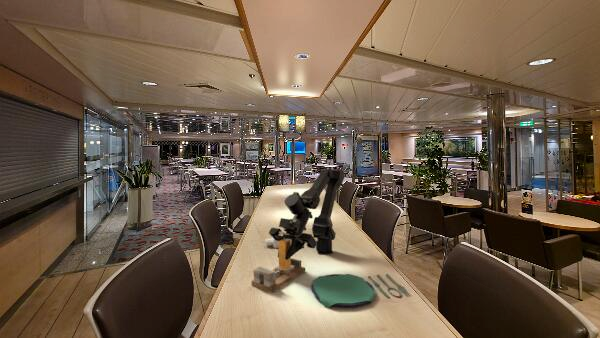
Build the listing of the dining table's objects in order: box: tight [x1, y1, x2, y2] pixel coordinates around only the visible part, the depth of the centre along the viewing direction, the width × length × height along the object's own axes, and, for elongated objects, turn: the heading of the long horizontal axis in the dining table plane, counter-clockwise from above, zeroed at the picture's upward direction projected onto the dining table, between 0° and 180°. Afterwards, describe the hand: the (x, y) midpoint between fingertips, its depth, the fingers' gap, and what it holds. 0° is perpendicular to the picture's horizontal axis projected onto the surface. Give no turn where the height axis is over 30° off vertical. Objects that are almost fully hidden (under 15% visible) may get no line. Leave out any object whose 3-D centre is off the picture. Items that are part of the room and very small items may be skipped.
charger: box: [261, 235, 292, 249], centre depth 133 cm, size 5×9×15 cm
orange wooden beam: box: [274, 239, 294, 276], centre depth 96 cm, size 11×5×11 cm, turn 145°
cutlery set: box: [310, 273, 412, 308], centre depth 87 cm, size 20×30×2 cm, turn 100°
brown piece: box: [251, 257, 306, 293], centre depth 97 cm, size 19×9×6 cm, turn 146°
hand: (282, 258), depth 98 cm, fingers closed on orange wooden beam, 3 cm apart
